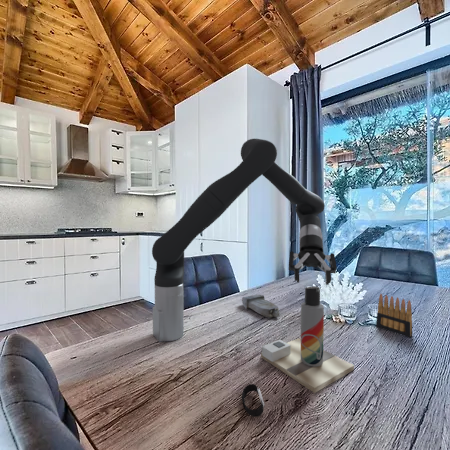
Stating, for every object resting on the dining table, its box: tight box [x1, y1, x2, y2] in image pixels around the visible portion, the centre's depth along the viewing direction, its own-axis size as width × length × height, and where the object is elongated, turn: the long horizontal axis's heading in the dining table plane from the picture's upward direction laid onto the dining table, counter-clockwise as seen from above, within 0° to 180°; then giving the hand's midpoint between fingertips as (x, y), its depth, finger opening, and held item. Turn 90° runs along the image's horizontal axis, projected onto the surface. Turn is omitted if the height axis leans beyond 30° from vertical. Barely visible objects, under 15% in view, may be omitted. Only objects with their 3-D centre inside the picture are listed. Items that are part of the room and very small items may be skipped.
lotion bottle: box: [300, 285, 325, 367], centre depth 71 cm, size 6×6×20 cm
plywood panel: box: [260, 337, 355, 394], centre depth 73 cm, size 16×18×1 cm
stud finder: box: [261, 339, 291, 362], centre depth 75 cm, size 7×4×3 cm, turn 124°
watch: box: [241, 383, 265, 418], centre depth 57 cm, size 8×5×4 cm, turn 5°
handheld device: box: [241, 294, 280, 318], centre depth 111 cm, size 10×20×5 cm, turn 30°
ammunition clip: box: [375, 293, 413, 338], centre depth 92 cm, size 11×2×12 cm, turn 36°
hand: (312, 282), depth 81 cm, fingers open, 8 cm apart
